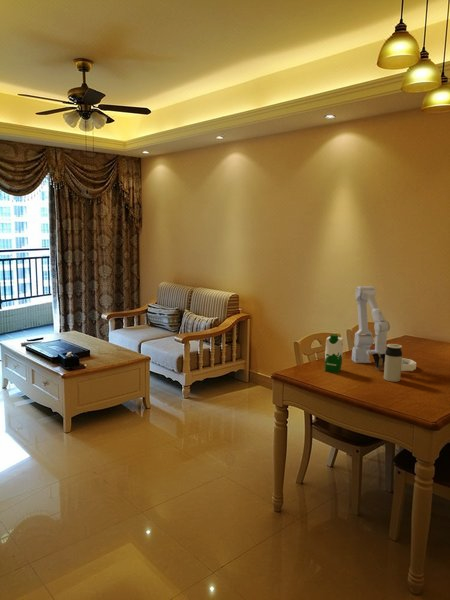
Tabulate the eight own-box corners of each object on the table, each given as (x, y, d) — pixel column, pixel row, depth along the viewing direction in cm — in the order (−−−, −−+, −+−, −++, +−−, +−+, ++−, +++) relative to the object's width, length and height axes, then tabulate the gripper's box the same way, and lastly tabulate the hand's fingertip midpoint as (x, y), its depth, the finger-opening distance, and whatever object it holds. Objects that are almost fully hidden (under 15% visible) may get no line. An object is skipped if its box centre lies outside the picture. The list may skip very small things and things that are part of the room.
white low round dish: (419, 370, 255) (419, 364, 255) (394, 370, 254) (395, 364, 254) (407, 363, 269) (408, 357, 269) (384, 363, 268) (384, 357, 268)
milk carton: (323, 371, 251) (324, 335, 248) (326, 367, 259) (328, 332, 256) (339, 373, 247) (341, 337, 244) (342, 369, 255) (344, 333, 252)
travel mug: (403, 381, 236) (405, 347, 233) (388, 382, 235) (391, 347, 232) (394, 377, 244) (397, 343, 241) (380, 377, 242) (383, 343, 240)
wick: (382, 371, 254) (382, 358, 253) (378, 371, 254) (379, 358, 253) (379, 368, 258) (380, 356, 257) (375, 368, 258) (376, 356, 257)
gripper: (370, 344, 249) (368, 369, 251) (396, 344, 250) (395, 369, 252) (365, 341, 256) (364, 365, 258) (391, 341, 257) (389, 365, 259)
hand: (379, 367), depth 256 cm, fingers closed on wick, 2 cm apart
